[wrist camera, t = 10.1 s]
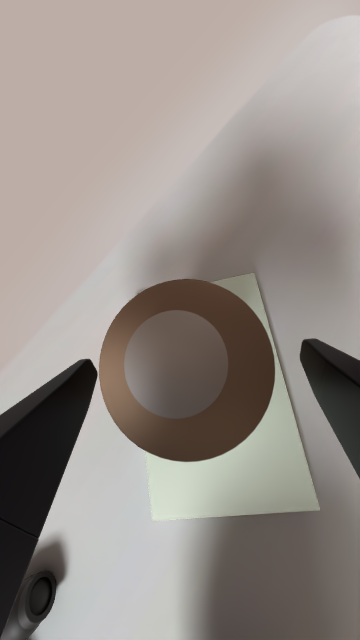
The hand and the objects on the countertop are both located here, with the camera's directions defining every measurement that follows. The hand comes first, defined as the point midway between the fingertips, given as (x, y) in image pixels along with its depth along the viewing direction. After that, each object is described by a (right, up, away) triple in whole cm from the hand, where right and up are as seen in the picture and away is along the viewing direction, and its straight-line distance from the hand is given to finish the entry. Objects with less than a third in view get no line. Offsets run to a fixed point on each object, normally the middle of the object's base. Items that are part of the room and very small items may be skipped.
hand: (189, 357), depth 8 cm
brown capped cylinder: (+2, -2, +8) cm, 9 cm away
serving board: (+2, -4, +9) cm, 10 cm away
